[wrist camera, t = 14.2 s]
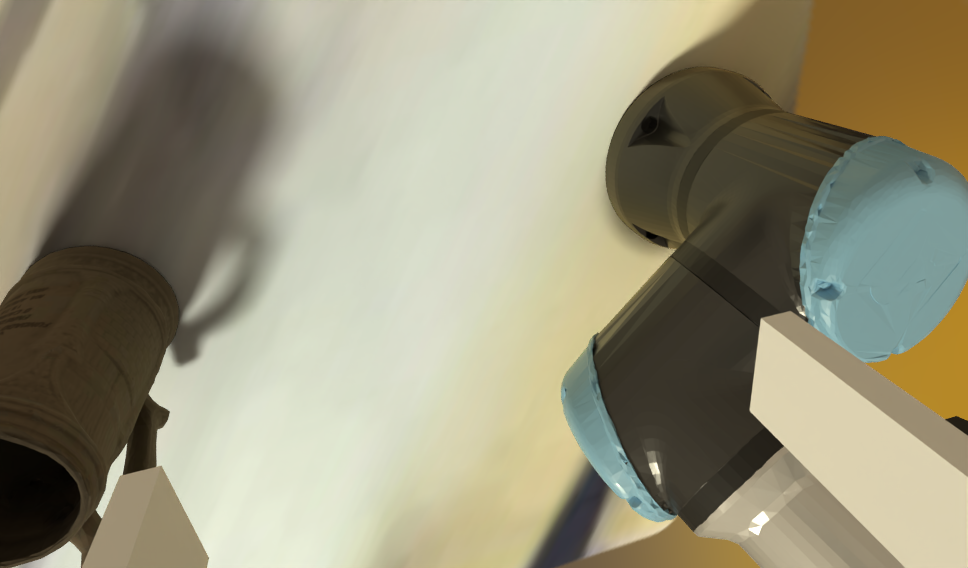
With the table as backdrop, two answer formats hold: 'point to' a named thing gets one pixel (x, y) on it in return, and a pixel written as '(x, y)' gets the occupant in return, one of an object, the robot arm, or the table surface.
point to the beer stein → (76, 392)
